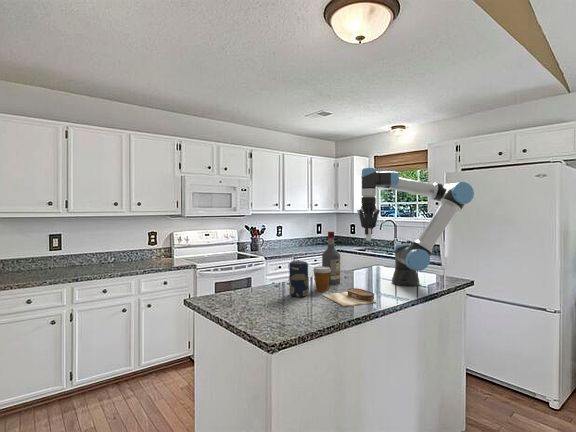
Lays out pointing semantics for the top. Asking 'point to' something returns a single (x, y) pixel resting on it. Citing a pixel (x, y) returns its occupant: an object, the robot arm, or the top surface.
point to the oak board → (346, 299)
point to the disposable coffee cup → (321, 277)
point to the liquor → (332, 260)
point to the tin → (361, 294)
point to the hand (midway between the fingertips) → (368, 240)
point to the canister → (298, 278)
